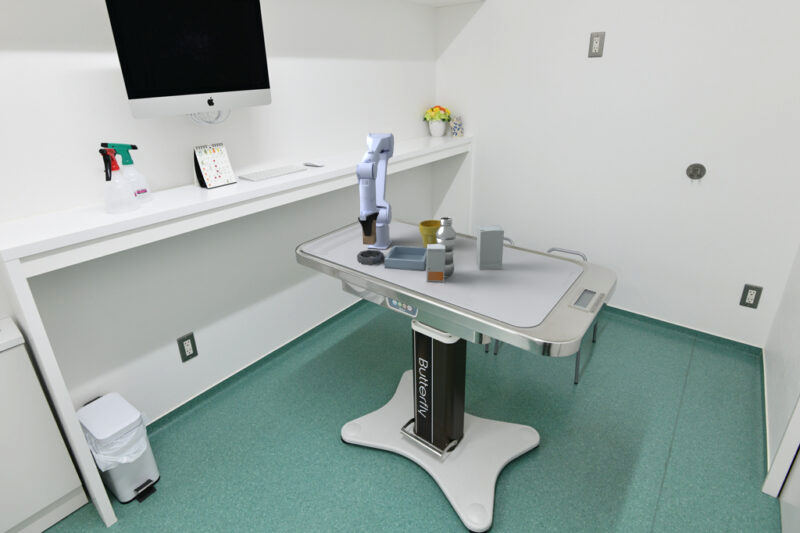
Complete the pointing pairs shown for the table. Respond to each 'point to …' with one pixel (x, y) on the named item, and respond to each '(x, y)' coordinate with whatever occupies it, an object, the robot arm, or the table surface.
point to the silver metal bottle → (447, 243)
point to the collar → (376, 255)
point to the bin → (406, 258)
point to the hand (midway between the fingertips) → (369, 233)
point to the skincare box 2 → (489, 247)
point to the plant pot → (429, 231)
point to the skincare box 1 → (435, 262)
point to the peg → (370, 239)
